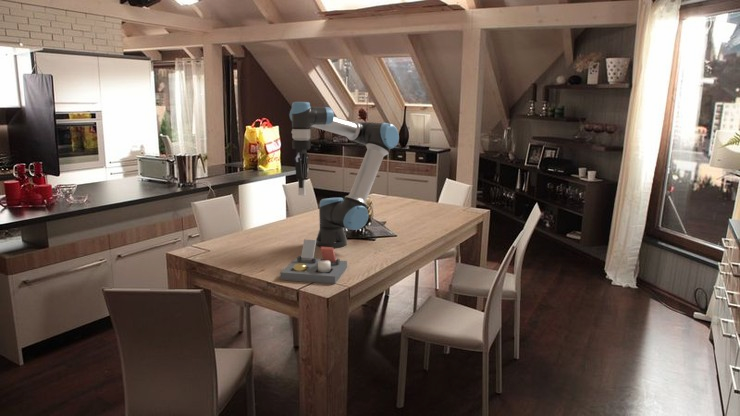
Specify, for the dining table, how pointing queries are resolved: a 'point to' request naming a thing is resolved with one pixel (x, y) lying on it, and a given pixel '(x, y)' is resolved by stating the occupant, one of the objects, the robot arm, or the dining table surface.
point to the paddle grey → (308, 250)
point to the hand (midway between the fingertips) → (302, 195)
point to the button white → (324, 266)
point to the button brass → (300, 267)
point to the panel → (314, 272)
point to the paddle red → (328, 254)
